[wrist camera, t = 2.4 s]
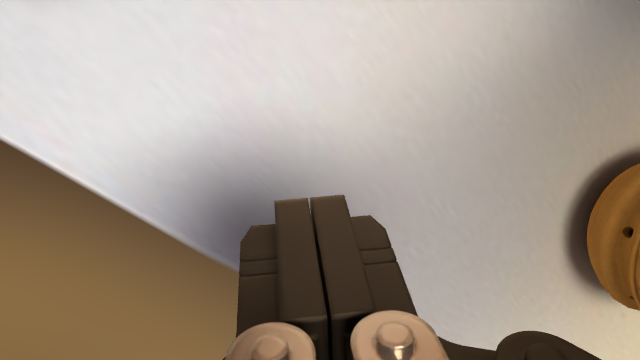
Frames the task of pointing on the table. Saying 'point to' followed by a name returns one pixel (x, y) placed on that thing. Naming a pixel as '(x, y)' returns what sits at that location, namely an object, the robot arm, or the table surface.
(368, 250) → the robot arm
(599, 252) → the pot
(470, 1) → the table surface
